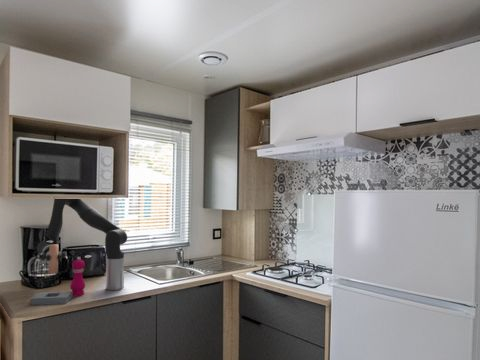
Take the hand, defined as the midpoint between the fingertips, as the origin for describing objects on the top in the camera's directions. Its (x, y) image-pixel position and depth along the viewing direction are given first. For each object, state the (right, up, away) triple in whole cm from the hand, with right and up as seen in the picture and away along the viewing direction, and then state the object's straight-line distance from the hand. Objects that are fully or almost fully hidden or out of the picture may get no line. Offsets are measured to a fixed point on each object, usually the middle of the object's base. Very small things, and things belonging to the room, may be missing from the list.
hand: (54, 257), depth 169 cm
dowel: (-2, -8, +2) cm, 8 cm away
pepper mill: (+5, -23, +13) cm, 27 cm away
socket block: (-2, -22, +1) cm, 22 cm away
